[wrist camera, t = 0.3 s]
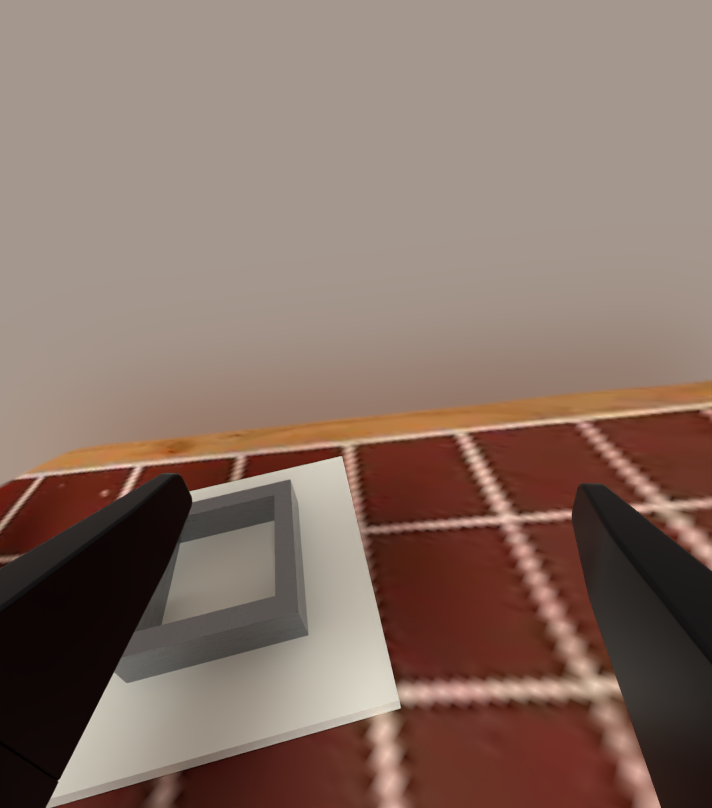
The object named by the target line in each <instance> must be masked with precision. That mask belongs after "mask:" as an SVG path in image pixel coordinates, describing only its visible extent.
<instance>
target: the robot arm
mask: <svg viewBox="0 0 712 808" xmlns="http://www.w3.org/2000/svg"><path fill="white" fill-rule="evenodd" d="M191 507H192V496H191V494H190V492H189V490H188V488H187V485H186V483H185V481H184V479H183V477H182V476H181V475H180V474H177V473H163V474H161V475H159V476H157V477H155V478H154V479H152V480H150V481H149V482H147V483H145V484H143V485H142V486H140V487H138V488H137V489H135V490H133V491H131V492H130V493H128V494H126V495H125V496H123V497H121V498H119V499H118V500H116V501H114V502H113V503H111V504H109V505H108V506H106V507H104V508H102V509H101V510H99V511H97V512H96V513H94V514H92V515H90V516H89V517H87V518H85V519H84V520H82V521H80V522H78V523H77V524H75V525H73V526H72V527H70V528H68V529H66V530H65V531H63V532H61V533H60V534H58V535H56V536H55V537H53V538H51V539H49V540H48V541H46V542H44V543H43V544H41V545H39V546H37V547H36V548H34V549H32V550H31V551H29V552H27V553H25V554H24V555H22V556H20V557H19V558H17V559H15V560H13V561H12V562H10V563H8V564H7V565H5V566H3V567H2V568H0V808H46V807H47V805H48V803H49V801H50V799H51V797H52V795H53V793H54V791H55V789H56V787H57V785H58V780H59V779H60V778H61V776H62V774H63V772H64V770H65V768H66V766H67V764H68V762H69V760H70V758H71V756H72V755H73V753H74V751H75V749H76V747H77V745H78V743H79V741H80V739H81V737H82V735H83V733H84V731H85V729H86V727H87V725H88V723H89V721H90V719H91V717H92V715H93V713H94V711H95V709H96V707H97V705H98V703H99V701H100V699H101V697H102V695H103V693H104V691H105V689H106V687H107V685H108V683H109V681H110V679H111V677H112V676H113V674H114V672H115V670H116V668H117V666H118V664H119V662H120V660H121V658H122V656H123V654H124V652H125V650H126V648H127V646H128V644H129V642H130V640H131V638H132V636H133V634H134V632H135V630H136V628H137V626H138V624H139V622H140V620H141V618H142V616H143V614H144V612H145V610H146V608H147V606H148V604H149V602H150V600H151V598H152V597H153V595H154V593H155V591H156V589H157V587H158V585H159V583H160V581H161V579H162V577H163V575H164V573H165V571H166V569H167V567H168V564H169V562H170V560H171V557H172V555H173V553H174V550H175V548H176V545H177V543H178V540H179V537H180V535H181V532H182V530H183V527H184V525H185V522H186V520H187V517H188V515H189V512H190V510H191ZM572 523H573V528H574V533H575V537H576V542H577V546H578V551H579V556H580V560H581V565H582V569H583V574H584V578H585V583H586V587H587V591H588V595H589V599H590V602H591V605H592V609H593V612H594V615H595V617H596V620H597V623H598V626H599V629H600V632H601V635H602V638H603V641H604V644H605V646H606V649H607V652H608V655H609V658H610V661H611V664H612V667H613V670H614V672H615V675H616V678H617V681H618V684H619V687H620V690H621V693H622V696H623V699H624V701H625V704H626V707H627V710H628V713H629V716H630V719H631V722H632V725H633V727H634V730H635V733H636V736H637V739H638V742H639V745H640V748H641V751H642V754H643V756H644V759H645V762H646V765H647V768H648V771H649V774H650V777H651V780H652V782H653V785H654V788H655V791H656V794H657V797H658V800H659V803H660V806H661V808H712V571H711V570H710V569H709V568H707V567H706V566H705V565H704V564H702V563H701V562H700V561H699V560H697V559H696V558H695V557H694V556H692V555H691V554H690V553H689V552H687V551H686V550H685V549H684V548H682V547H681V546H680V545H679V544H677V543H676V542H675V541H674V540H673V539H671V538H670V537H669V536H668V535H666V534H665V533H664V532H663V531H661V530H660V529H659V528H658V527H656V526H655V525H654V524H653V523H651V522H650V521H649V520H648V519H646V518H645V517H644V516H643V515H641V514H640V513H639V512H638V511H636V510H635V509H634V508H633V507H631V506H630V505H629V504H628V503H626V502H625V501H624V500H623V499H622V498H620V497H619V496H618V495H617V494H615V493H614V492H613V491H612V490H610V489H609V488H608V487H607V486H605V485H603V484H599V483H582V484H580V485H579V486H578V488H577V492H576V496H575V501H574V505H573V510H572Z"/></svg>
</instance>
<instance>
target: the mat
mask: <svg viewBox="0 0 712 808" xmlns="http://www.w3.org/2000/svg"><path fill="white" fill-rule="evenodd" d="M289 479H290V480H291V483H292V486H293V489H294V492H295V495H296V498H297V501H298V508H299V521H300V533H301V546H302V559H303V571H304V584H305V597H306V609H307V622H308V636H304V637H300V638H297V639H293V640H289V641H285V642H281V643H278V644H274V645H270V646H266V647H263V648H259V649H255V650H251V651H247V652H244V653H240V654H236V655H232V656H229V657H225V658H221V659H217V660H213V661H210V662H206V663H202V664H198V665H195V666H191V667H187V668H183V669H180V670H176V671H172V672H168V673H164V674H161V675H157V676H153V677H149V678H146V679H142V680H138V681H134V682H130V683H126V682H124V681H123V680H122V679H121V678H120V677H119V676H118V675H117V674H115V673H114V674H113V676H112V677H111V679H110V681H109V683H108V685H107V687H106V689H105V691H104V693H103V695H102V697H101V699H100V701H99V703H98V705H97V707H96V709H95V711H94V713H93V715H92V717H91V719H90V721H89V723H88V725H87V727H86V729H85V731H84V733H83V735H82V737H81V739H80V741H79V743H78V745H77V747H76V749H75V751H74V753H73V755H72V756H71V758H70V760H69V762H68V764H67V766H66V768H65V770H64V772H63V774H62V776H61V778H60V779H59V780H58V785H57V787H56V789H55V791H54V793H53V795H52V797H51V799H50V801H49V803H48V805H47V807H46V808H51V807H55V806H58V805H62V804H65V803H69V802H73V801H76V800H80V799H83V798H87V797H90V796H94V795H97V794H101V793H104V792H108V791H111V790H115V789H118V788H122V787H125V786H129V785H132V784H136V783H139V782H143V781H146V780H150V779H154V778H157V777H161V776H164V775H168V774H171V773H175V772H178V771H182V770H185V769H189V768H192V767H196V766H199V765H203V764H206V763H210V762H213V761H217V760H220V759H224V758H227V757H231V756H235V755H238V754H242V753H245V752H249V751H252V750H256V749H259V748H263V747H266V746H270V745H273V744H277V743H280V742H284V741H287V740H291V739H294V738H298V737H301V736H305V735H309V734H312V733H316V732H319V731H323V730H326V729H330V728H333V727H337V726H340V725H344V724H347V723H351V722H354V721H358V720H361V719H365V718H368V717H372V716H375V715H379V714H382V713H386V712H390V711H393V710H397V709H400V708H401V707H400V702H399V698H398V693H397V689H396V685H395V681H394V676H393V672H392V668H391V663H390V659H389V655H388V651H387V646H386V642H385V638H384V634H383V629H382V625H381V621H380V617H379V612H378V608H377V604H376V600H375V595H374V591H373V587H372V583H371V578H370V574H369V570H368V565H367V561H366V557H365V553H364V548H363V544H362V540H361V536H360V531H359V527H358V523H357V519H356V514H355V510H354V506H353V502H352V497H351V493H350V489H349V484H348V480H347V476H346V472H345V467H344V463H343V459H342V456H341V457H336V458H332V459H328V460H323V461H319V462H315V463H311V464H306V465H302V466H298V467H293V468H289V469H285V470H280V471H276V472H272V473H267V474H263V475H259V476H255V477H250V478H246V479H242V480H237V481H233V482H229V483H224V484H220V485H216V486H212V487H207V488H203V489H199V490H194V491H190V494H191V496H192V502H195V501H200V500H204V499H208V498H213V497H217V496H221V495H225V494H230V493H234V492H238V491H242V490H247V489H251V488H255V487H259V486H264V485H268V484H272V483H276V482H281V481H285V480H289ZM273 596H275V522H274V521H270V522H266V523H262V524H258V525H254V526H250V527H246V528H241V529H237V530H233V531H229V532H225V533H221V534H217V535H212V536H208V537H204V538H200V539H196V540H192V541H188V542H183V543H180V547H179V551H178V555H177V560H176V564H175V568H174V573H173V577H172V581H171V586H170V590H169V594H168V599H167V603H166V607H165V612H164V616H163V621H162V625H164V624H168V623H171V622H175V621H179V620H183V619H187V618H191V617H195V616H199V615H203V614H207V613H210V612H214V611H218V610H222V609H226V608H230V607H234V606H238V605H242V604H246V603H250V602H253V601H257V600H261V599H265V598H269V597H273Z"/></svg>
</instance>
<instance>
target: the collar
mask: <svg viewBox="0 0 712 808" xmlns="http://www.w3.org/2000/svg"><path fill="white" fill-rule="evenodd" d="M270 521H274V522H275V596H273V597H269V598H265V599H261V600H257V601H253V602H250V603H246V604H242V605H238V606H234V607H230V608H226V609H222V610H218V611H214V612H210V613H207V614H203V615H199V616H195V617H191V618H187V619H183V620H179V621H175V622H171V623H168V624H164V625H162V621H163V616H164V612H165V607H166V603H167V599H168V594H169V590H170V586H171V581H172V577H173V573H174V568H175V564H176V560H177V555H178V551H179V547H180V543H183V542H188V541H192V540H196V539H200V538H204V537H208V536H212V535H217V534H221V533H225V532H229V531H233V530H237V529H241V528H246V527H250V526H254V525H258V524H262V523H266V522H270ZM304 636H308V622H307V609H306V597H305V584H304V571H303V559H302V546H301V533H300V521H299V508H298V501H297V498H296V495H295V492H294V489H293V486H292V483H291V480H290V479H289V480H285V481H281V482H276V483H272V484H268V485H264V486H259V487H255V488H251V489H247V490H242V491H238V492H234V493H230V494H225V495H221V496H217V497H213V498H208V499H204V500H200V501H195V502H192V507H191V510H190V512H189V515H188V517H187V520H186V522H185V525H184V527H183V530H182V532H181V535H180V537H179V540H178V543H177V545H176V548H175V550H174V553H173V555H172V557H171V560H170V562H169V564H168V567H167V569H166V571H165V573H164V575H163V577H162V579H161V581H160V583H159V585H158V587H157V589H156V591H155V593H154V595H153V597H152V598H151V600H150V602H149V604H148V606H147V608H146V610H145V612H144V614H143V616H142V618H141V620H140V622H139V624H138V626H137V628H136V630H135V632H134V634H133V636H132V638H131V640H130V642H129V644H128V646H127V648H126V650H125V652H124V654H123V656H122V658H121V660H120V662H119V664H118V666H117V668H116V670H115V672H114V673H115V674H117V675H118V676H119V677H120V678H121V679H122V680H123V681H124V682H126V683H130V682H134V681H138V680H142V679H146V678H149V677H153V676H157V675H161V674H164V673H168V672H172V671H176V670H180V669H183V668H187V667H191V666H195V665H198V664H202V663H206V662H210V661H213V660H217V659H221V658H225V657H229V656H232V655H236V654H240V653H244V652H247V651H251V650H255V649H259V648H263V647H266V646H270V645H274V644H278V643H281V642H285V641H289V640H293V639H297V638H300V637H304Z"/></svg>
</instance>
